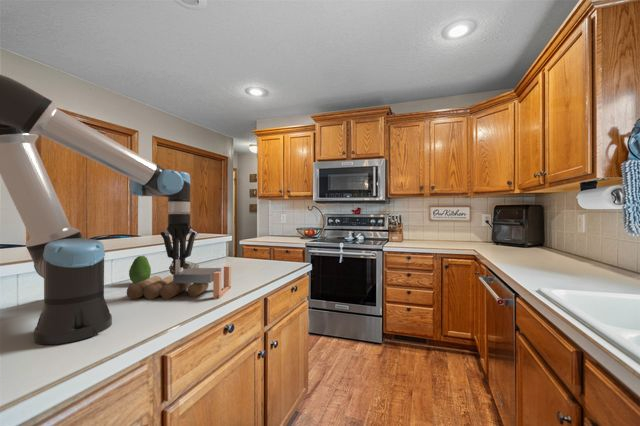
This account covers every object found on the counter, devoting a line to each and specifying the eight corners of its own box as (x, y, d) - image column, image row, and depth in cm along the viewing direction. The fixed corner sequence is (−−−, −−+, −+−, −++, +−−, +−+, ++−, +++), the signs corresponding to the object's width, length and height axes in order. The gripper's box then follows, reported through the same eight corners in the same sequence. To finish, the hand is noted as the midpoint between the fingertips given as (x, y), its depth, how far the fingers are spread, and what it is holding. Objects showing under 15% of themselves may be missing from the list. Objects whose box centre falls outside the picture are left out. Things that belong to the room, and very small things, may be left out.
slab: (210, 282, 100) (210, 274, 100) (173, 283, 100) (173, 274, 100) (221, 275, 112) (221, 267, 112) (188, 275, 112) (188, 268, 112)
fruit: (154, 281, 123) (154, 254, 123) (144, 286, 116) (144, 257, 116) (135, 282, 123) (136, 254, 123) (124, 286, 115) (124, 257, 115)
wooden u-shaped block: (219, 298, 99) (219, 273, 99) (213, 298, 99) (213, 273, 99) (230, 288, 113) (230, 265, 113) (225, 288, 113) (225, 265, 113)
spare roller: (202, 289, 102) (192, 281, 102) (194, 299, 102) (184, 291, 102) (211, 283, 110) (201, 276, 110) (203, 293, 110) (194, 285, 110)
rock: (188, 285, 117) (188, 261, 117) (164, 286, 115) (164, 262, 115) (202, 276, 135) (202, 255, 135) (181, 276, 134) (180, 255, 134)
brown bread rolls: (174, 298, 99) (174, 284, 99) (126, 299, 98) (126, 284, 98) (191, 288, 113) (191, 275, 113) (149, 288, 112) (149, 276, 112)
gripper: (200, 213, 110) (200, 274, 110) (166, 213, 109) (166, 274, 109) (192, 213, 102) (192, 278, 102) (156, 213, 102) (156, 278, 102)
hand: (179, 276), depth 106 cm, fingers closed
